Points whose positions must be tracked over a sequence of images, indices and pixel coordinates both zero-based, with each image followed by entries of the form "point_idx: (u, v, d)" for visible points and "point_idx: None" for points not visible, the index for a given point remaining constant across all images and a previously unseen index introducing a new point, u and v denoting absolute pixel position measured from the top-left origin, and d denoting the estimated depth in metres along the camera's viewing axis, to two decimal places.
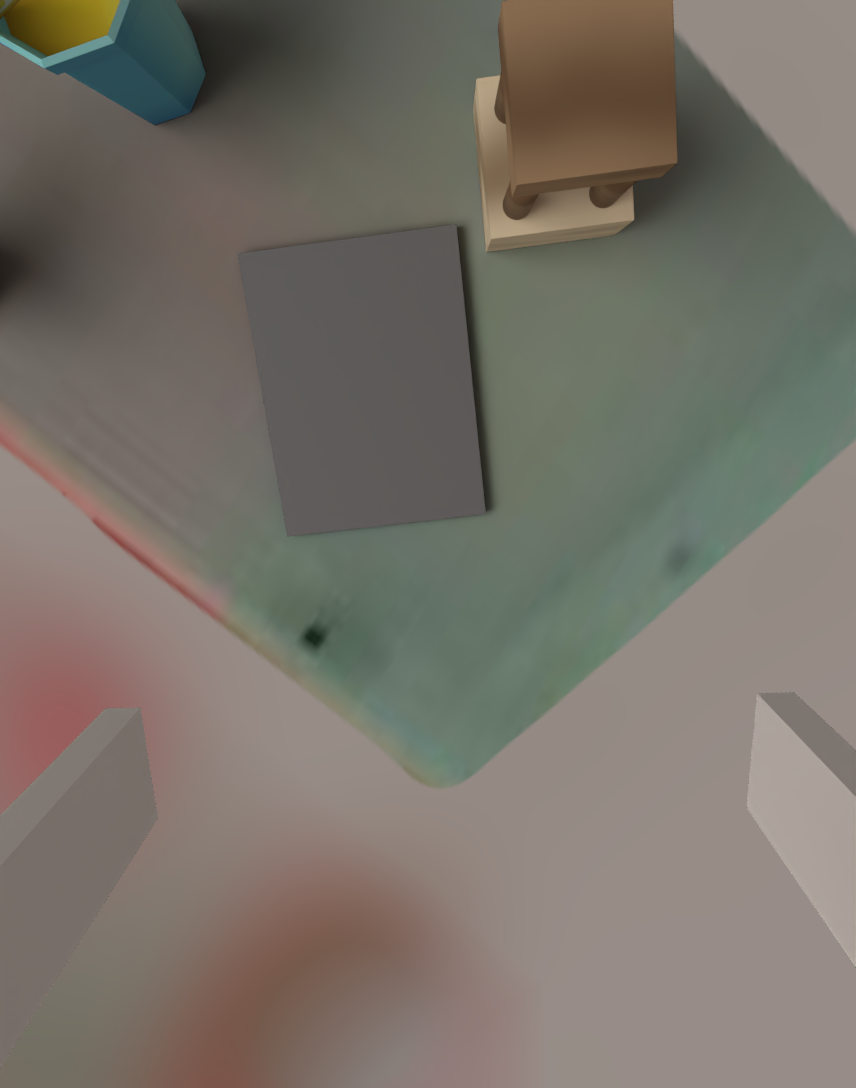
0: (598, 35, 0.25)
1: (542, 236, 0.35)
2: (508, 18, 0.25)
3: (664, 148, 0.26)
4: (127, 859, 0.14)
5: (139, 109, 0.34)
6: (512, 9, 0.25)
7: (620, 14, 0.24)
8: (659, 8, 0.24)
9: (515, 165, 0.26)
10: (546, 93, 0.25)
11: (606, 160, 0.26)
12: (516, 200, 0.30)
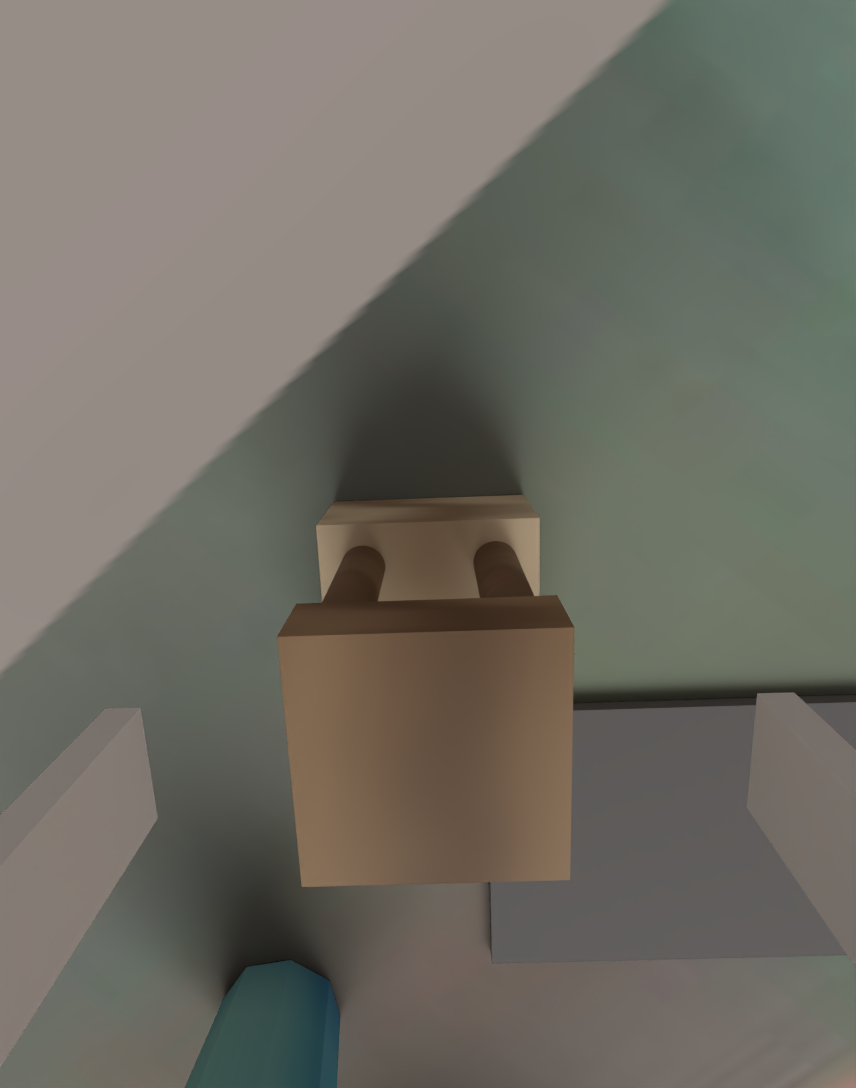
0: (359, 752, 0.15)
1: None
2: (325, 879, 0.15)
3: (546, 649, 0.14)
4: (127, 859, 0.14)
5: (335, 1068, 0.29)
6: (313, 873, 0.15)
7: (330, 718, 0.14)
8: (325, 657, 0.14)
9: (538, 876, 0.15)
10: (437, 831, 0.15)
11: (552, 744, 0.14)
12: None
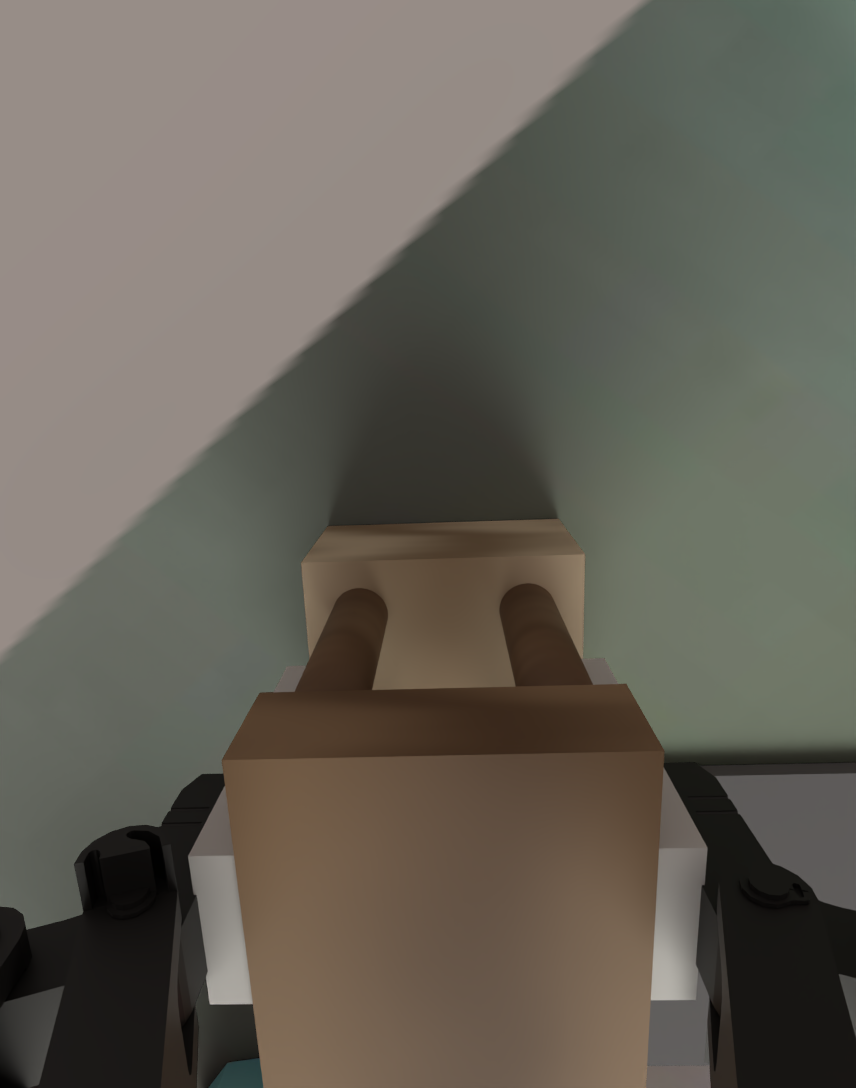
0: (343, 919, 0.10)
1: None
2: (297, 1085, 0.11)
3: (622, 781, 0.09)
4: None
5: None
6: (280, 1077, 0.11)
7: (301, 874, 0.10)
8: (292, 790, 0.09)
9: (599, 1086, 0.11)
10: (456, 1027, 0.10)
11: (626, 913, 0.10)
12: None
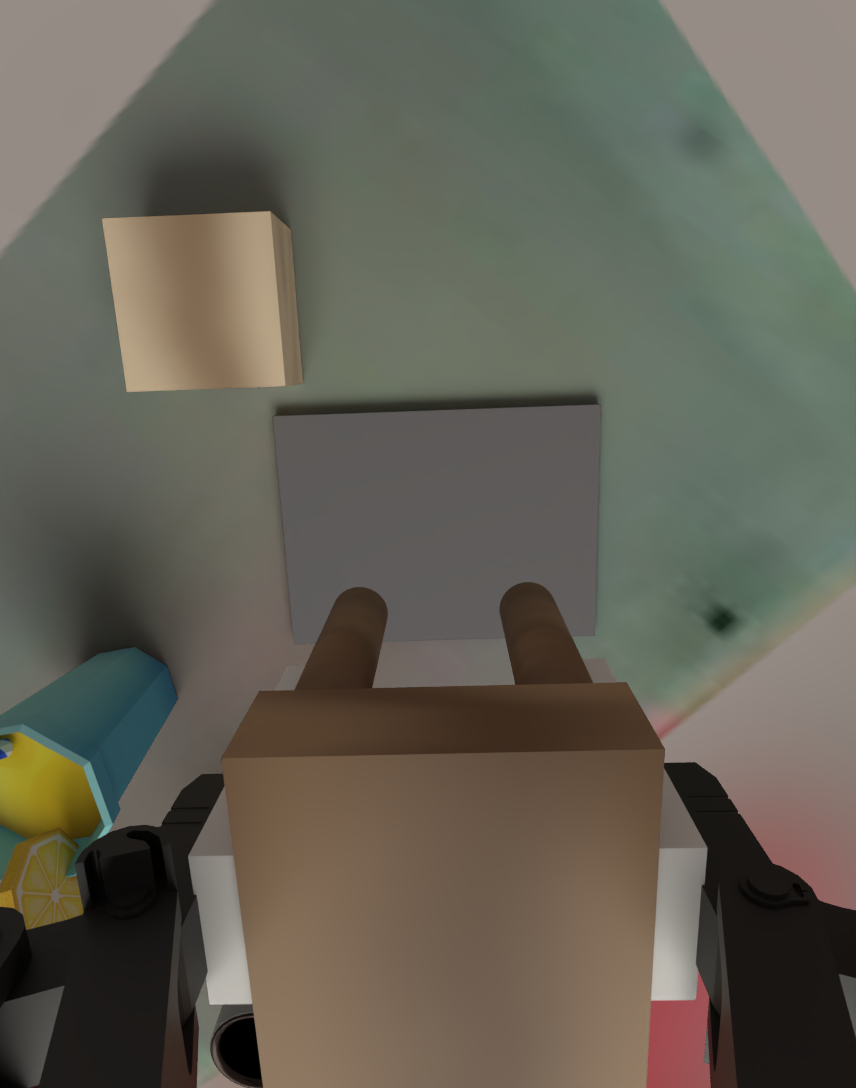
0: (343, 918, 0.10)
1: (286, 322, 0.30)
2: (297, 1085, 0.11)
3: (622, 779, 0.09)
4: None
5: (161, 717, 0.36)
6: (280, 1076, 0.11)
7: (301, 872, 0.10)
8: (292, 788, 0.09)
9: (599, 1085, 0.11)
10: (456, 1025, 0.10)
11: (626, 911, 0.10)
12: None
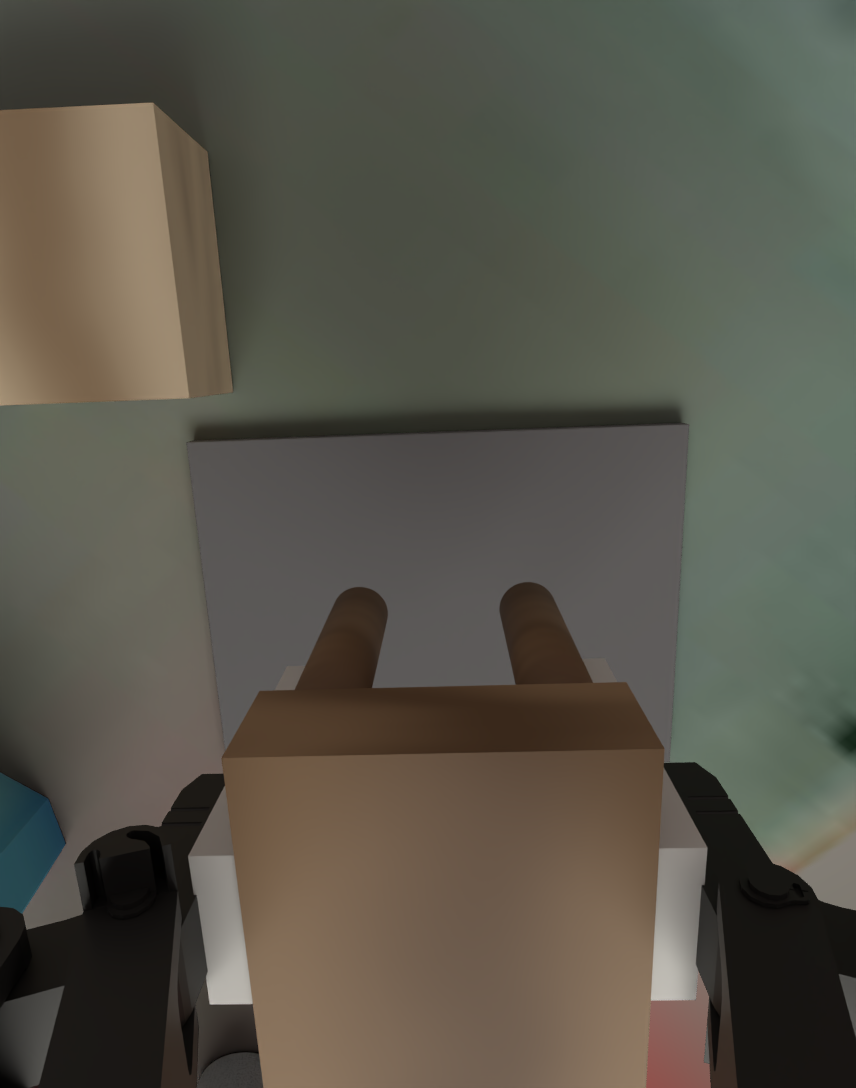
0: (343, 918, 0.10)
1: (193, 295, 0.19)
2: (297, 1084, 0.11)
3: (622, 779, 0.09)
4: None
5: (29, 887, 0.24)
6: (280, 1075, 0.11)
7: (301, 872, 0.10)
8: (292, 788, 0.09)
9: (599, 1084, 0.11)
10: (456, 1025, 0.10)
11: (626, 911, 0.10)
12: None
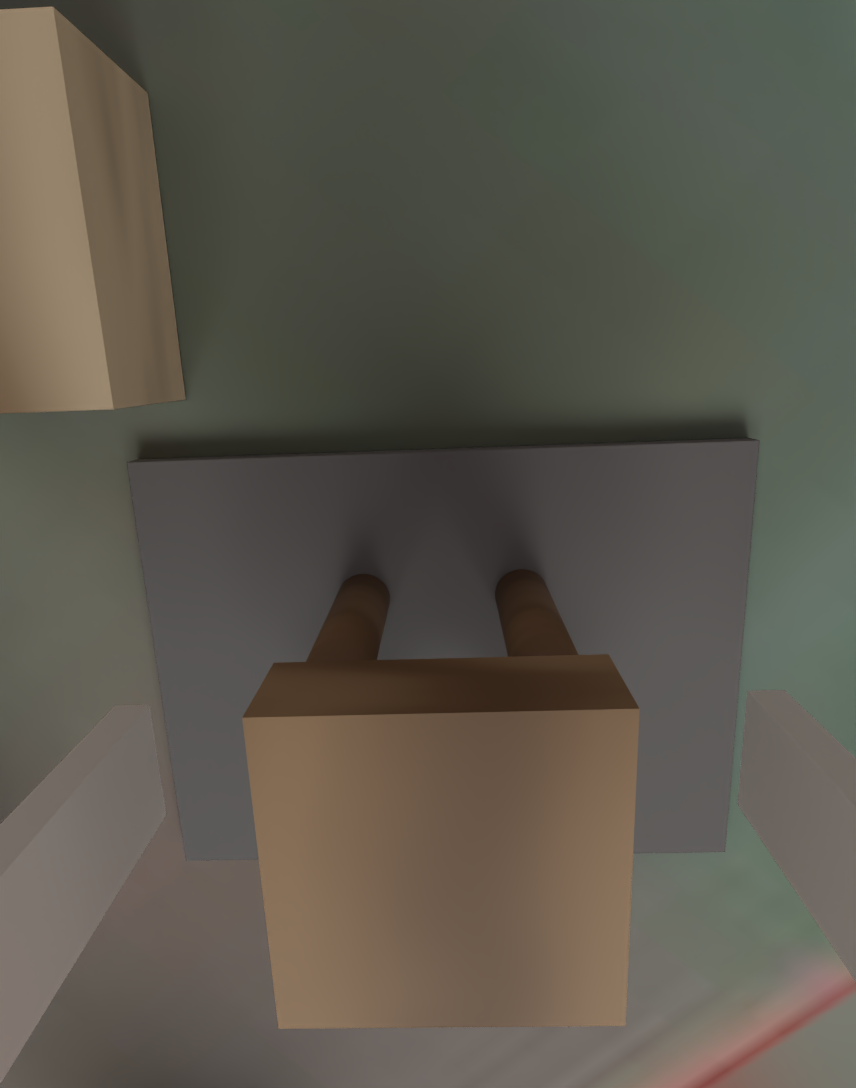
0: (351, 864, 0.11)
1: (122, 274, 0.14)
2: (309, 1019, 0.12)
3: (601, 736, 0.10)
4: (137, 855, 0.14)
5: None
6: (293, 1011, 0.12)
7: (313, 822, 0.11)
8: (306, 744, 0.11)
9: (583, 1019, 0.12)
10: (453, 963, 0.12)
11: (606, 857, 0.11)
12: None
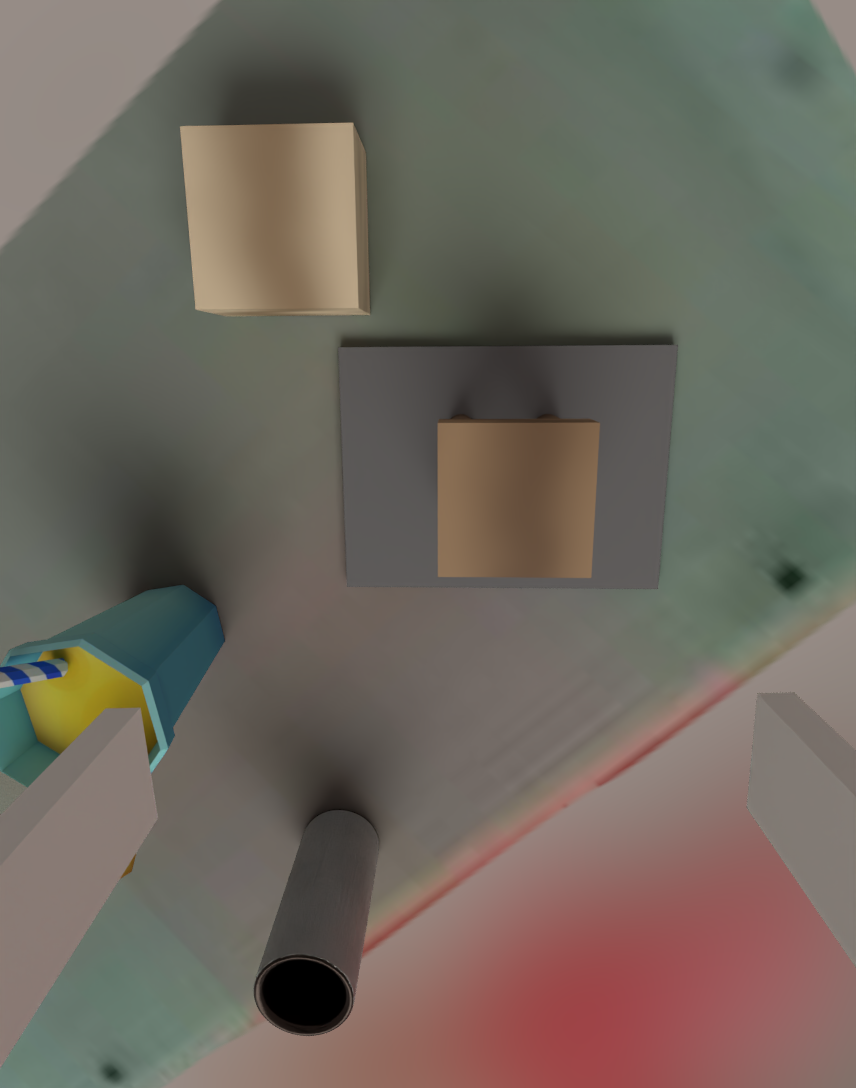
0: (477, 493, 0.26)
1: (360, 244, 0.30)
2: (451, 572, 0.27)
3: (584, 435, 0.25)
4: (127, 859, 0.14)
5: (210, 655, 0.35)
6: (445, 568, 0.27)
7: (462, 472, 0.26)
8: (462, 436, 0.26)
9: (572, 576, 0.27)
10: (517, 544, 0.27)
11: (585, 492, 0.26)
12: None
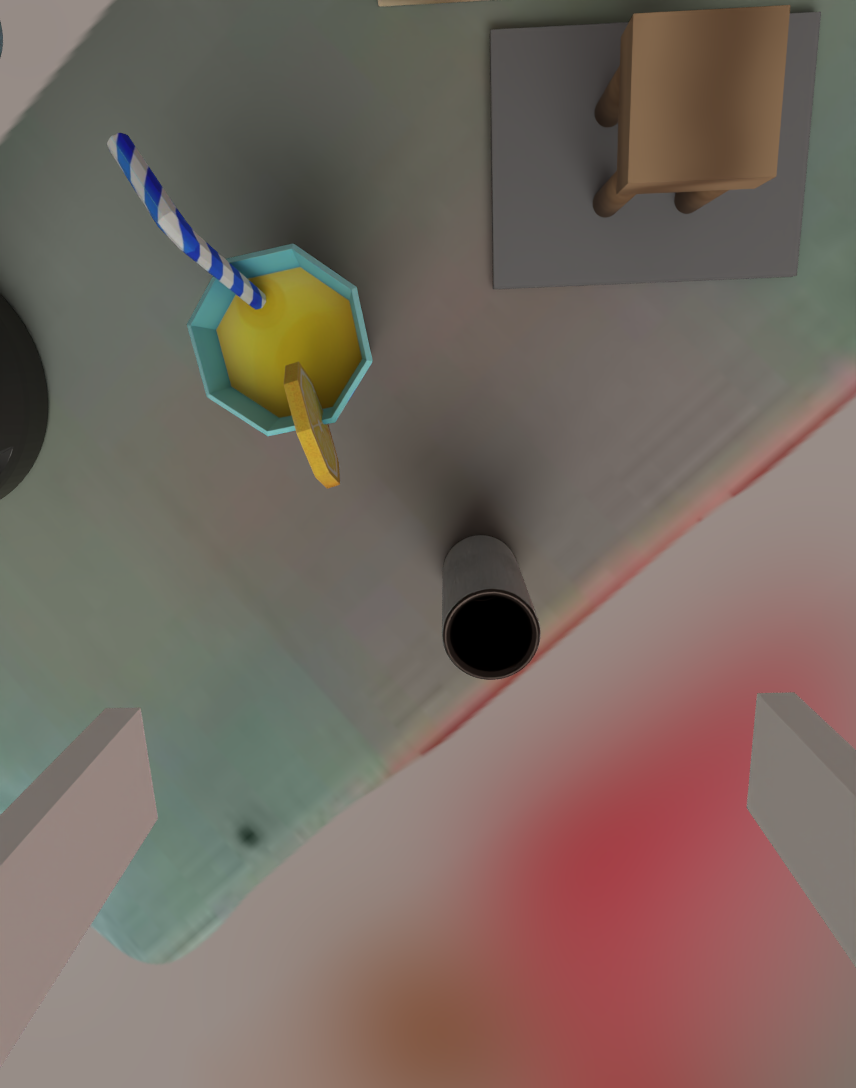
0: (668, 89, 0.27)
1: None
2: (641, 178, 0.28)
3: (774, 19, 0.27)
4: (127, 859, 0.14)
5: None
6: (635, 173, 0.28)
7: (655, 66, 0.27)
8: (657, 26, 0.27)
9: (758, 177, 0.28)
10: (706, 143, 0.28)
11: (773, 82, 0.27)
12: None
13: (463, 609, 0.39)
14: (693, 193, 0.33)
